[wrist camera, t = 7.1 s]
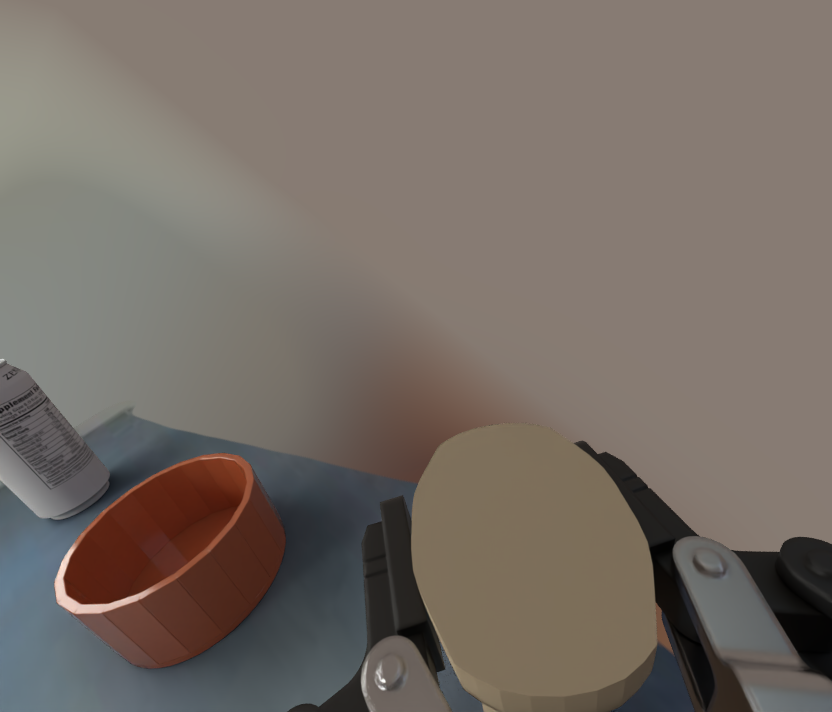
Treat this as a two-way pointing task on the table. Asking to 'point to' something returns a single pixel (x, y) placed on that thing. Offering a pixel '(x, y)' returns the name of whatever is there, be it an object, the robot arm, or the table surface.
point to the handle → (533, 572)
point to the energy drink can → (44, 451)
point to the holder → (175, 561)
